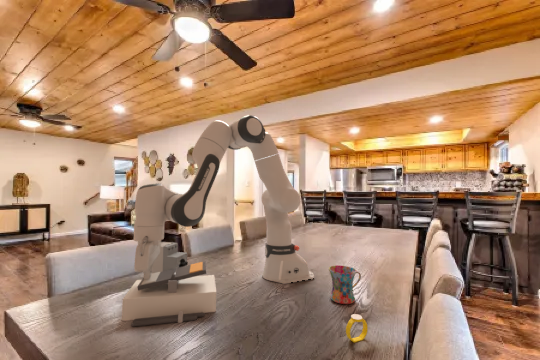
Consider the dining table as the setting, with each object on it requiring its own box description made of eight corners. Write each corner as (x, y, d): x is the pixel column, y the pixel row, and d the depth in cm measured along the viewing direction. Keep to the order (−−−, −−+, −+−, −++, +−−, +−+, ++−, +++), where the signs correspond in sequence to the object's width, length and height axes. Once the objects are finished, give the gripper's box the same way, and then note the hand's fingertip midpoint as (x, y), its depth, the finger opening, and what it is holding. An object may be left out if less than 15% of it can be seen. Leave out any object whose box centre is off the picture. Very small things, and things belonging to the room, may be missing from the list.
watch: (351, 347, 63) (350, 322, 63) (344, 340, 65) (343, 317, 65) (370, 339, 65) (369, 316, 65) (362, 334, 68) (361, 311, 68)
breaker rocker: (206, 265, 91) (205, 260, 91) (206, 274, 81) (205, 269, 81) (145, 279, 86) (144, 274, 86) (137, 291, 76) (137, 286, 76)
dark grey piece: (204, 314, 77) (204, 308, 77) (204, 320, 74) (204, 313, 74) (133, 322, 72) (133, 315, 72) (130, 328, 69) (130, 321, 69)
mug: (337, 308, 83) (337, 274, 83) (323, 296, 92) (323, 266, 92) (369, 303, 86) (369, 271, 87) (352, 293, 95) (352, 264, 95)
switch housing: (213, 291, 94) (214, 265, 95) (215, 311, 79) (216, 279, 79) (136, 297, 88) (137, 269, 88) (121, 321, 72) (123, 286, 73)
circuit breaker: (180, 287, 98) (181, 247, 98) (147, 284, 100) (148, 245, 101) (190, 280, 105) (191, 243, 105) (159, 277, 108) (160, 241, 108)
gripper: (153, 240, 73) (151, 289, 72) (164, 229, 93) (163, 267, 92) (129, 240, 71) (127, 291, 71) (145, 229, 91) (143, 268, 91)
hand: (147, 277), depth 82 cm, fingers closed, pressing on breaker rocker
